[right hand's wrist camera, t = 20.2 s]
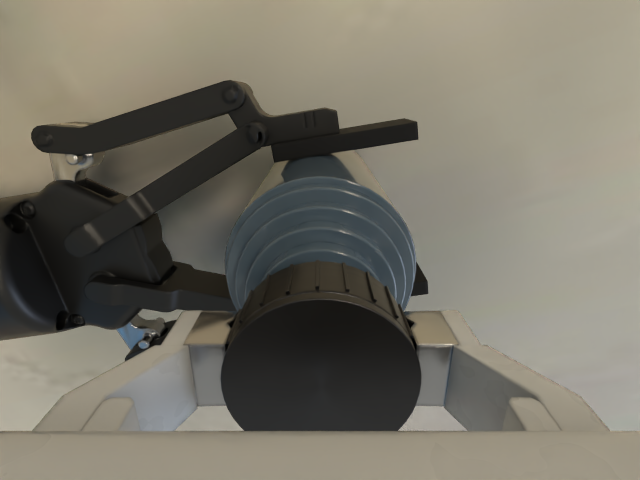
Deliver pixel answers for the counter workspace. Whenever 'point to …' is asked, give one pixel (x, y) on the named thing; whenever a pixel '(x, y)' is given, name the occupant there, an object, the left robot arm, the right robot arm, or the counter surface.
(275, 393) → the cap
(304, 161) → the bottle
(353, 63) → the counter surface
